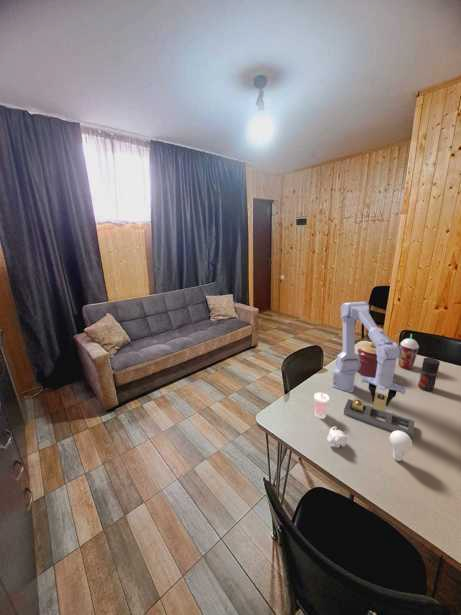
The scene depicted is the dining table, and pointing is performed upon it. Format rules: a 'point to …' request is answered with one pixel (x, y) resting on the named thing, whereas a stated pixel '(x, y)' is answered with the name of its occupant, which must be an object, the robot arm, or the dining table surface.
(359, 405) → the gold knobbed block
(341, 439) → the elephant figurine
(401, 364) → the smoothie
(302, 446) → the dining table surface
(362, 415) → the rack rail
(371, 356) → the canister
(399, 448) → the lightbulb
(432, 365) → the deodorant
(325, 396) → the beverage cup
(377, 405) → the knobbed gold cube
